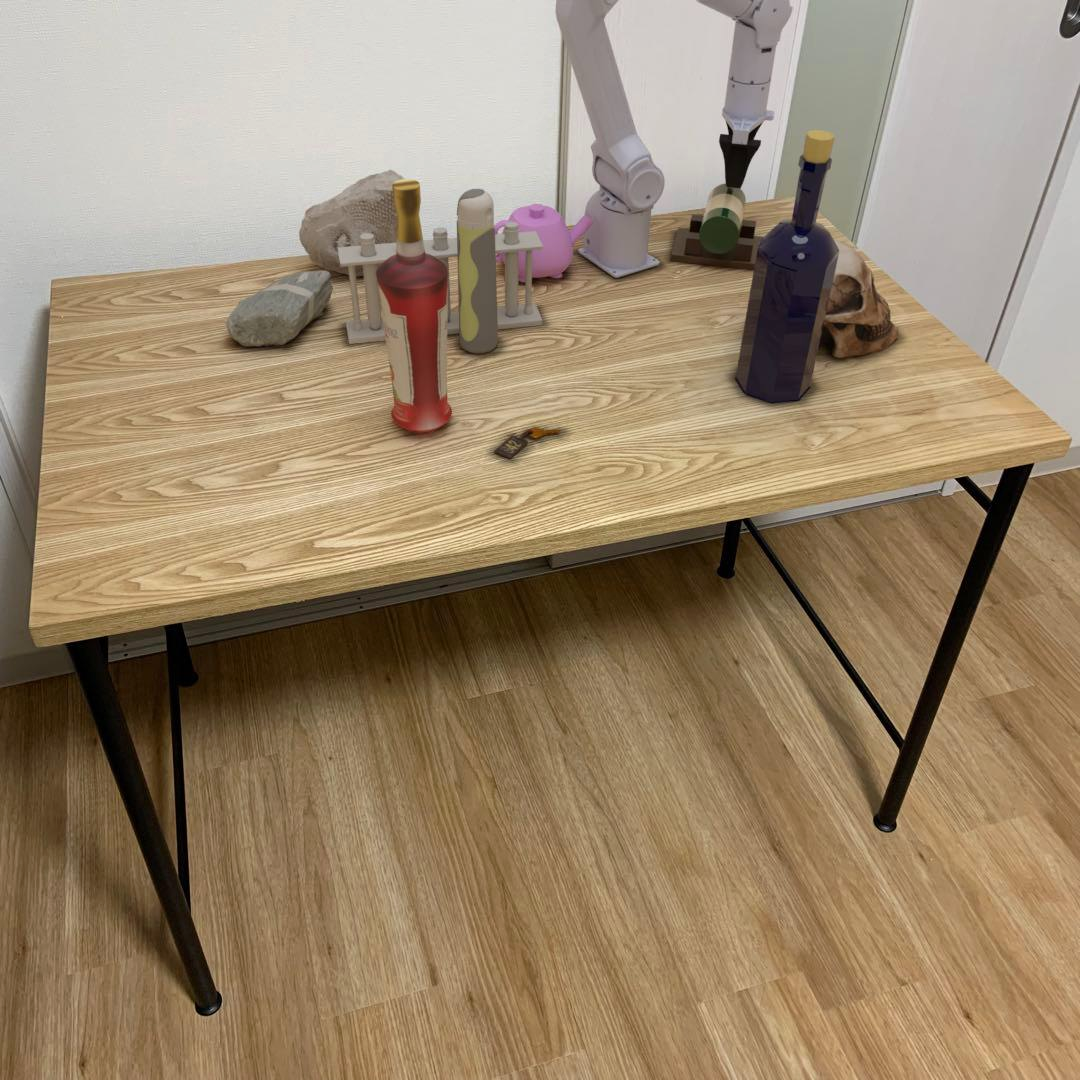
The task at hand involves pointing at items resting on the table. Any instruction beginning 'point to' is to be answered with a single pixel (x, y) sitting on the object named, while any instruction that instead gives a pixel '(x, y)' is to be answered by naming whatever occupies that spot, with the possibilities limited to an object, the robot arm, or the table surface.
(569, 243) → the teapot
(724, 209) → the wine bottle
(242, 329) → the decorative stone
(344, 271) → the fossil
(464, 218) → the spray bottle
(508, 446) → the key tag
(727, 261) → the wine rack
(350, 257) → the test tube rack
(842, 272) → the skull
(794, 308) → the bottle
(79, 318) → the table surface
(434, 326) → the liquor
